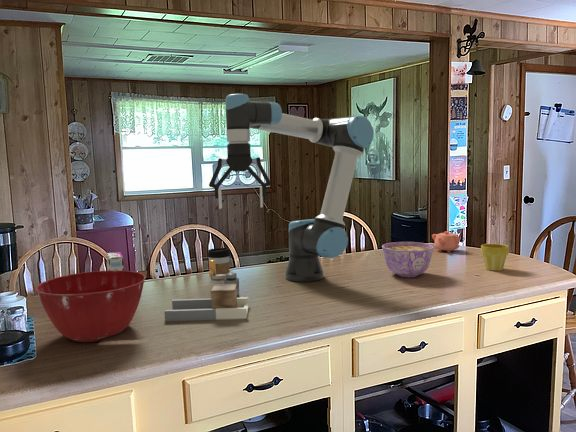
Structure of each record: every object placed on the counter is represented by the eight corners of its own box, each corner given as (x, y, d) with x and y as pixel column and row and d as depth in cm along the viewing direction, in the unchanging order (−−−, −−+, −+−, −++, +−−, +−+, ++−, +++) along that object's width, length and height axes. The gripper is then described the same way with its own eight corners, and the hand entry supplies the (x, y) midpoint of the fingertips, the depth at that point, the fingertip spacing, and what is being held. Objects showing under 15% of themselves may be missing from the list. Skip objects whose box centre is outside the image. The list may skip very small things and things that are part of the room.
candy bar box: (126, 304, 170) (123, 256, 168) (111, 306, 168) (107, 258, 166) (123, 296, 181) (120, 251, 179) (108, 298, 179) (105, 252, 177)
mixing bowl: (69, 318, 157) (65, 269, 155) (160, 317, 156) (157, 268, 154) (19, 354, 129) (13, 295, 127) (129, 352, 128) (125, 293, 126)
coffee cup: (227, 291, 183) (226, 250, 181) (205, 291, 185) (203, 250, 183) (234, 285, 191) (233, 246, 189) (213, 285, 193) (211, 246, 191)
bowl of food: (426, 283, 188) (426, 252, 186) (374, 277, 198) (374, 248, 196) (439, 271, 205) (439, 243, 204) (391, 267, 215) (391, 240, 214)
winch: (246, 298, 174) (245, 275, 173) (244, 306, 165) (243, 282, 164) (220, 299, 174) (219, 276, 173) (217, 307, 165) (216, 283, 164)
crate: (237, 308, 159) (236, 283, 158) (235, 316, 152) (234, 289, 151) (214, 309, 159) (213, 284, 158) (211, 317, 152) (210, 290, 151)
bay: (248, 309, 162) (248, 297, 161) (246, 321, 150) (246, 308, 149) (173, 311, 161) (172, 299, 161) (165, 324, 149) (164, 311, 149)
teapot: (438, 254, 240) (438, 233, 239) (430, 249, 252) (431, 230, 251) (462, 253, 241) (463, 233, 240) (453, 248, 253) (454, 229, 251)
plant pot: (495, 265, 214) (495, 242, 213) (513, 270, 204) (514, 246, 203) (475, 267, 210) (475, 244, 209) (493, 273, 201) (493, 248, 199)
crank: (236, 277, 170) (236, 258, 169) (236, 279, 167) (235, 260, 166) (210, 278, 170) (209, 259, 169) (209, 280, 166) (208, 261, 165)
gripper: (276, 142, 169) (278, 205, 171) (201, 144, 168) (204, 207, 171) (276, 141, 161) (278, 207, 164) (198, 143, 161) (201, 210, 163)
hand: (241, 207), depth 167 cm, fingers open, 13 cm apart
